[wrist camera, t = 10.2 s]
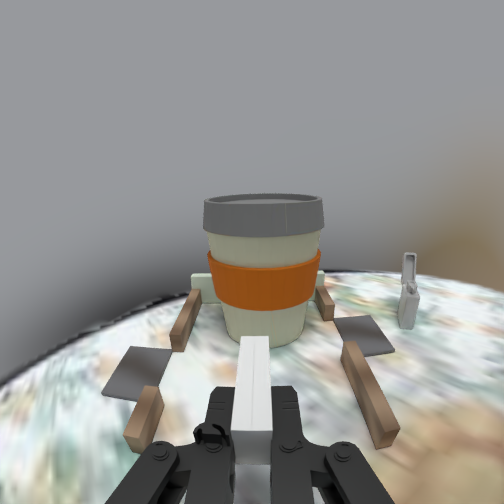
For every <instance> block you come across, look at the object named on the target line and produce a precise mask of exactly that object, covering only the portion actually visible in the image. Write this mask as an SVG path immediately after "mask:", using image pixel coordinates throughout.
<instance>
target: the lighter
mask: <svg viewBox="0 0 504 504" xmlns="http://www.w3.org/2000/svg"><path fill="white" fill-rule="evenodd" d="M402 261H403V262H402V277H401V284H402V285H403V286H402V292H401V297H400V303H399V308H398V313H397V315H398V320H399V325H400V328H401V329H413V326H414V322H415V318H416V314H417V309H418V305H419V300H420V296H419V294H418V291H417V284H416V282H415V274H416V253H408V252H406V253H405V254H403V260H402Z"/></svg>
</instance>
